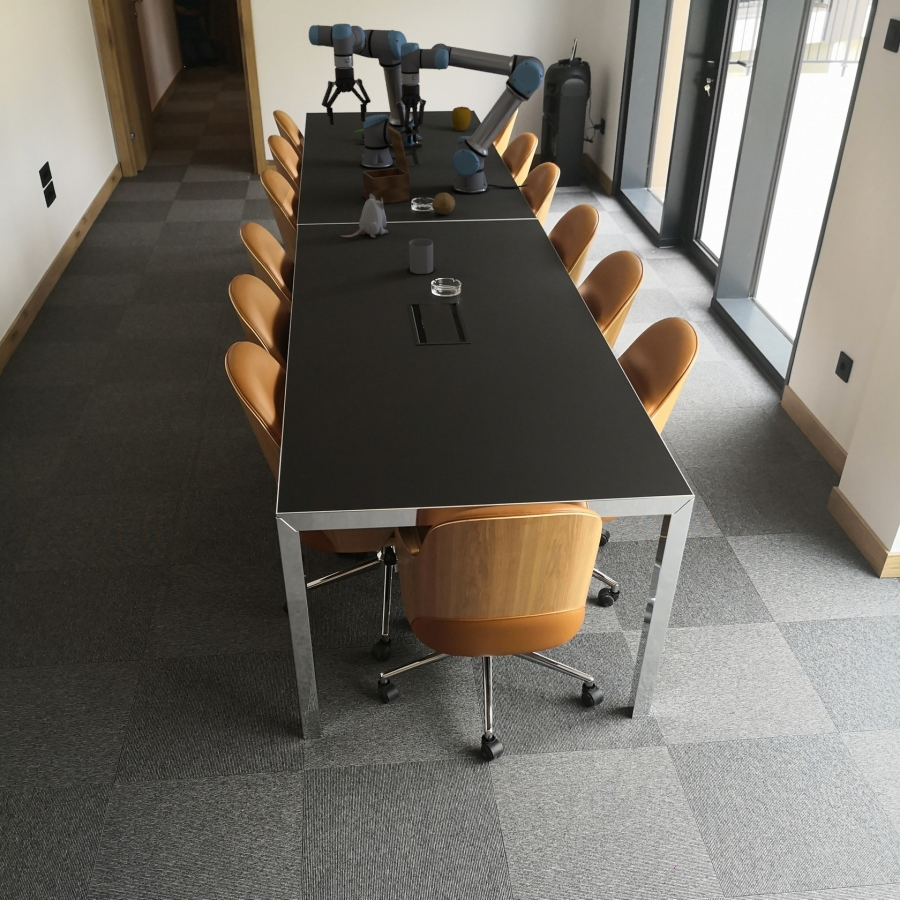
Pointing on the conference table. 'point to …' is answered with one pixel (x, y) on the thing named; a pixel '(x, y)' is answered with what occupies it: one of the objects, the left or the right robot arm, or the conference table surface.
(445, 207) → the potato
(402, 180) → the chest
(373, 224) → the toy
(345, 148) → the conference table surface
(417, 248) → the cup
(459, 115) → the yellow bell pepper
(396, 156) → the lid
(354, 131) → the scepter
